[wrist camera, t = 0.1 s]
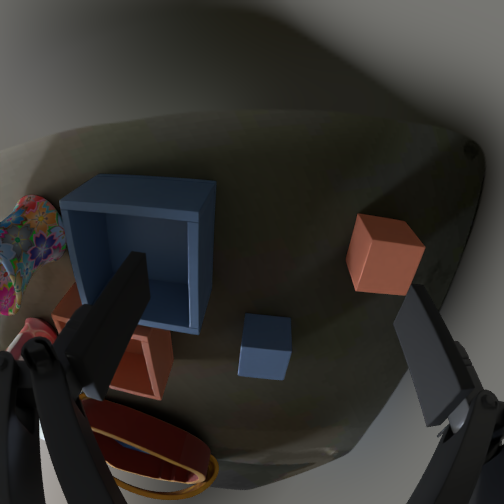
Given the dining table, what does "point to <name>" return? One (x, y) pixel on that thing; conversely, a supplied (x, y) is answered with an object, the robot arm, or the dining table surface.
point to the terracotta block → (383, 255)
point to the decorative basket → (150, 449)
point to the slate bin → (145, 241)
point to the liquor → (31, 335)
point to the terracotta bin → (131, 353)
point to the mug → (27, 247)
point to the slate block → (265, 346)
